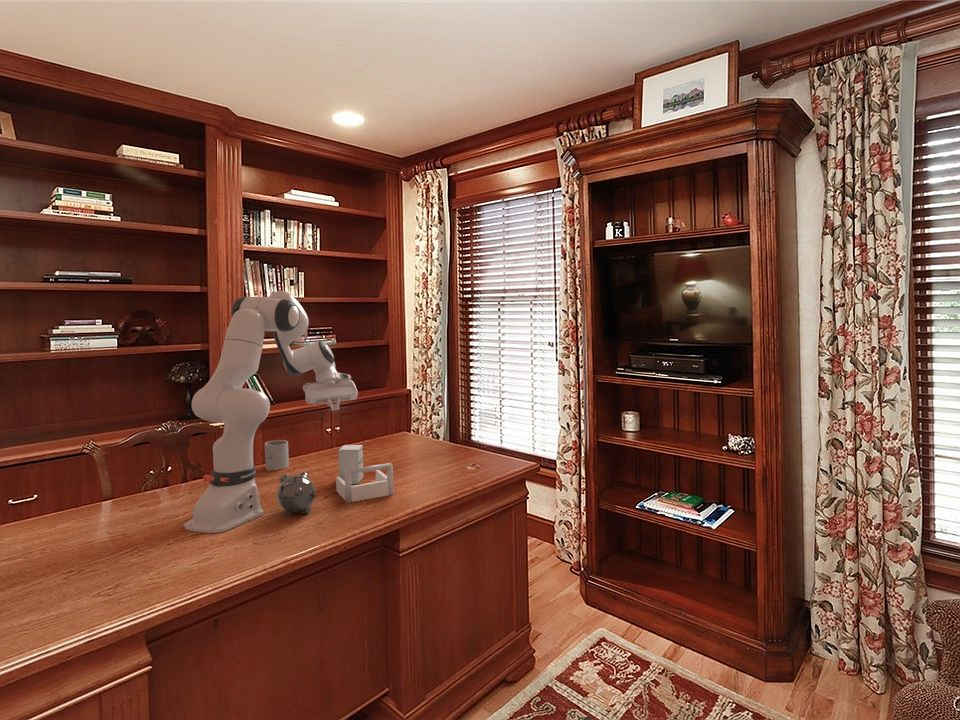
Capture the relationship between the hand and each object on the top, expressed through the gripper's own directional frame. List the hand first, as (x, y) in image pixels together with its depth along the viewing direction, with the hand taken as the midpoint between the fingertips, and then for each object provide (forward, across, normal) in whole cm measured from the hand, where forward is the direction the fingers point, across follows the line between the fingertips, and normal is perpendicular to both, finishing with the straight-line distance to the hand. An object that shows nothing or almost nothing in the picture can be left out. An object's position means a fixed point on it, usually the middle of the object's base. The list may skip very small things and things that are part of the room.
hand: (335, 409), depth 208 cm
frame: (+40, 0, -7) cm, 40 cm away
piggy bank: (+44, -24, -12) cm, 52 cm away
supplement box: (+30, 0, +3) cm, 30 cm away
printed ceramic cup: (+7, -21, +27) cm, 35 cm away
